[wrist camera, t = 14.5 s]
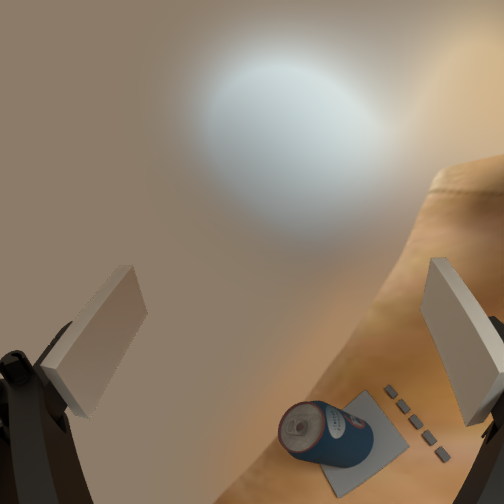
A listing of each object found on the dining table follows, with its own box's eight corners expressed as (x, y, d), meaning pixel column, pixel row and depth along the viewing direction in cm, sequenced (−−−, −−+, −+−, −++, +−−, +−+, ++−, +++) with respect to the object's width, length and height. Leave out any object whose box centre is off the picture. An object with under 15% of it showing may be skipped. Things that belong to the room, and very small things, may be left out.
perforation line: (389, 385, 37) (389, 384, 37) (450, 457, 25) (450, 457, 24) (385, 389, 37) (384, 388, 37) (445, 462, 25) (445, 462, 24)
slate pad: (366, 390, 39) (365, 389, 39) (409, 446, 29) (408, 446, 29) (308, 439, 40) (306, 438, 40) (340, 498, 30) (338, 498, 30)
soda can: (381, 419, 34) (334, 395, 29) (372, 470, 30) (319, 462, 25) (336, 419, 39) (282, 395, 33) (325, 466, 35) (266, 453, 29)
